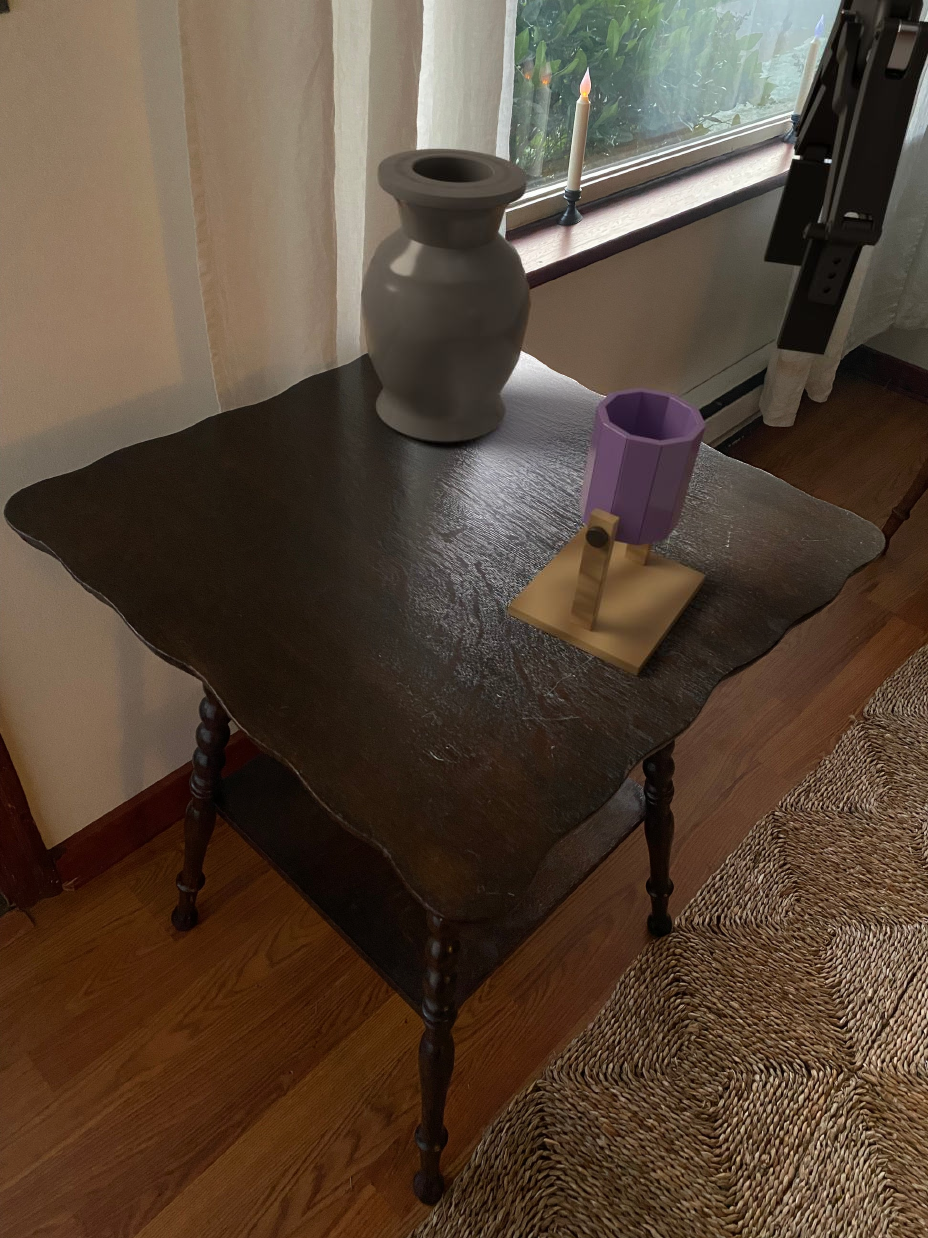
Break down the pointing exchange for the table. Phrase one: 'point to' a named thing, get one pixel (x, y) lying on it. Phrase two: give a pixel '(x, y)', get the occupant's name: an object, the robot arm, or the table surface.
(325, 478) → the table surface
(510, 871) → the table surface
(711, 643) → the table surface
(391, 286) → the vase
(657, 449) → the cup
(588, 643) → the swivel stand
